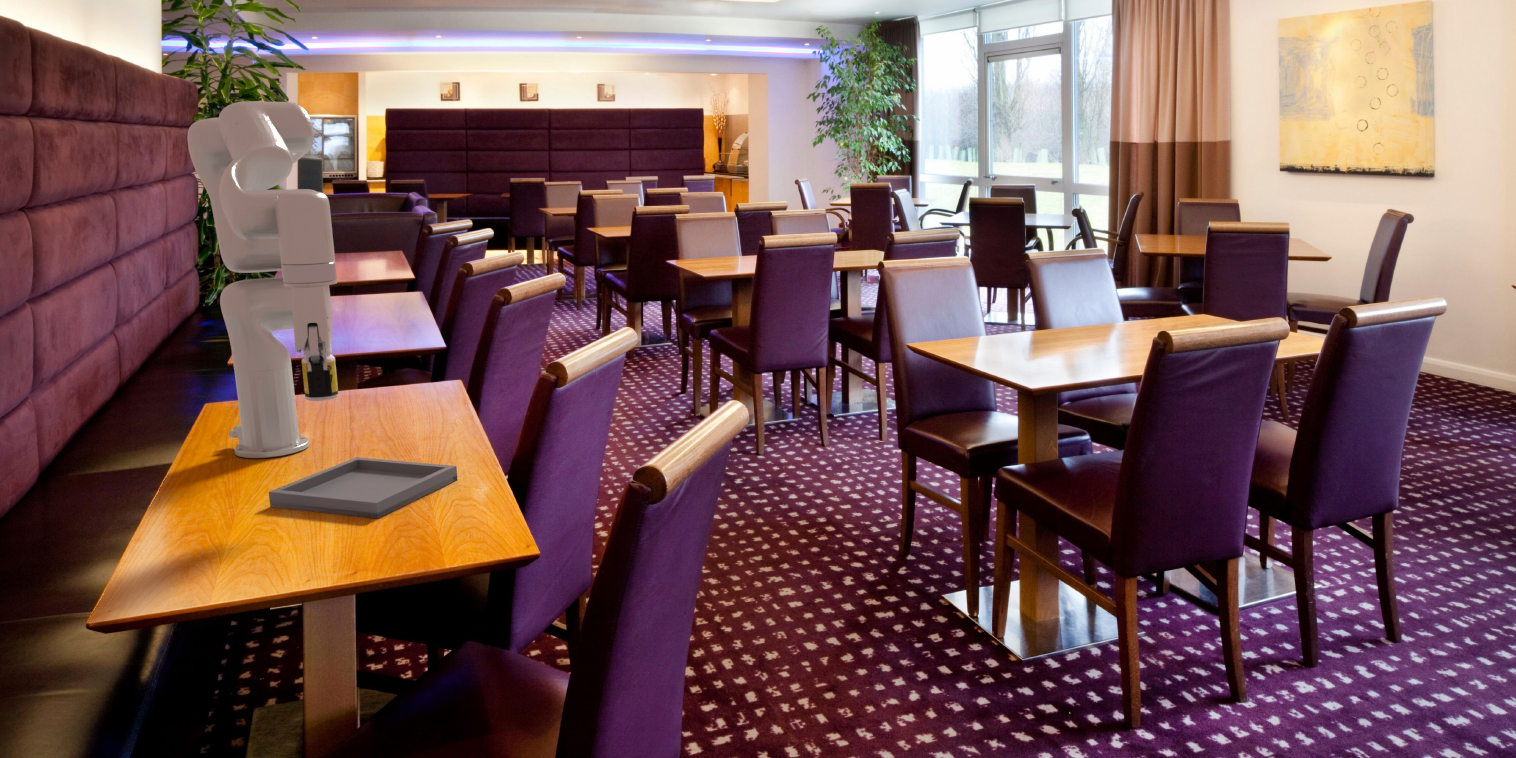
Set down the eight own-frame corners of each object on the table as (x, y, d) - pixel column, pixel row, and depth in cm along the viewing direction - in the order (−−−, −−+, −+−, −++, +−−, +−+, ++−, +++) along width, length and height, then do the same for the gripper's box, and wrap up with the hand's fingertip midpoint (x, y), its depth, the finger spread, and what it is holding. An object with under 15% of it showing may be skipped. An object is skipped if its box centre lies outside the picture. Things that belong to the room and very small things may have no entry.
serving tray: (270, 506, 163) (268, 491, 162) (358, 470, 181) (356, 457, 181) (377, 518, 156) (376, 502, 156) (457, 479, 175) (456, 465, 174)
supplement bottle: (306, 402, 160) (300, 348, 158) (304, 397, 164) (298, 343, 162) (340, 399, 162) (334, 345, 160) (337, 393, 166) (332, 340, 164)
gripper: (287, 270, 165) (299, 384, 169) (277, 282, 150) (291, 406, 153) (338, 268, 168) (349, 380, 172) (334, 279, 152) (346, 402, 156)
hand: (321, 391), depth 162 cm, fingers closed on supplement bottle, 4 cm apart
